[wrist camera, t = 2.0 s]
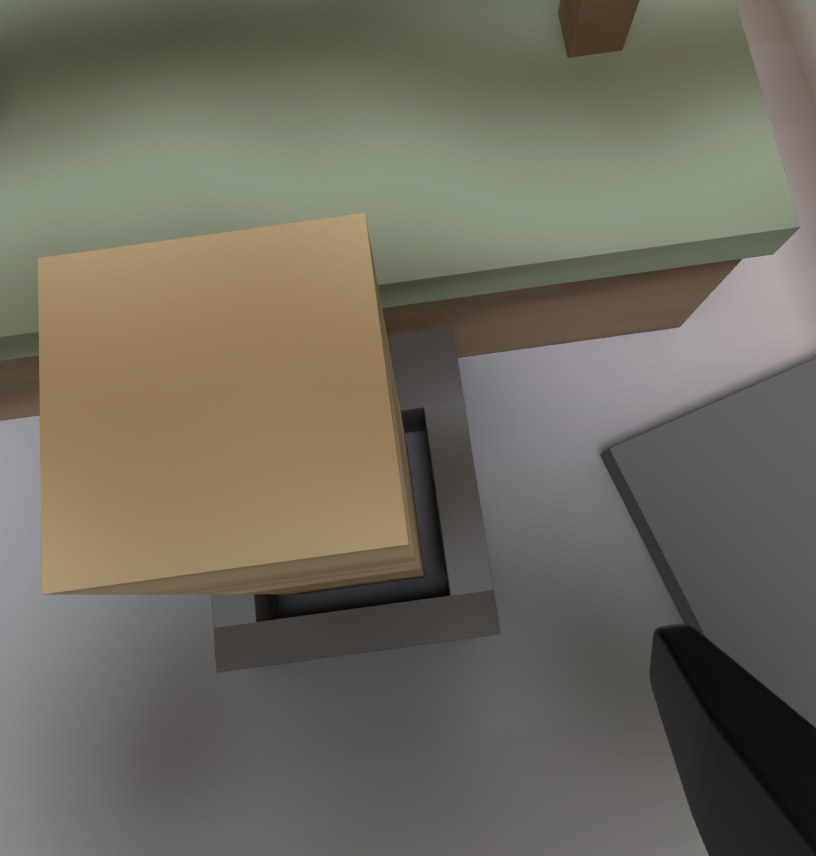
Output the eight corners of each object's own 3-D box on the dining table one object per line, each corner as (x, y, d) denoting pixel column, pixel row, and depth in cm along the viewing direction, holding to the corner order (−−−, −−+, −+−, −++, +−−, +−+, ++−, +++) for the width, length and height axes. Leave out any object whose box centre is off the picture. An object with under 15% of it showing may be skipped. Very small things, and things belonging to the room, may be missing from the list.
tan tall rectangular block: (424, 577, 19) (409, 544, 6) (300, 594, 19) (42, 593, 7) (408, 454, 20) (365, 213, 7) (288, 471, 20) (38, 258, 7)
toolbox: (754, 593, 19) (1389, 590, 6) (-17, 698, 19) (-896, 901, 6) (618, 28, 23) (839, -647, 10) (-13, 116, 23) (-542, -452, 10)
